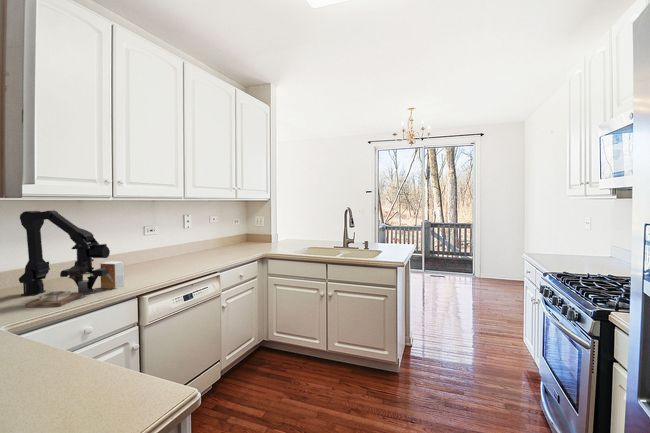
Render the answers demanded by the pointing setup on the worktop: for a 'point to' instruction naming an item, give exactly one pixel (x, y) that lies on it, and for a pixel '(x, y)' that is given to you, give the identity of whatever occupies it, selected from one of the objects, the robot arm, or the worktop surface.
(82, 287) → the steel pin
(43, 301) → the holder board
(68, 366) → the worktop surface
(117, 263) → the small box
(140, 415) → the worktop surface
